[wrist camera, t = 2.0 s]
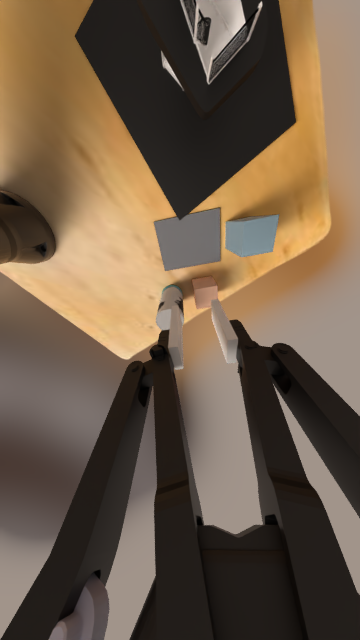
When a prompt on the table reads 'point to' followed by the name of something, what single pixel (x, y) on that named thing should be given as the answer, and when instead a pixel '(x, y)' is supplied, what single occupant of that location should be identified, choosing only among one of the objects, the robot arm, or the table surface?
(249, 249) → the slate-blue block
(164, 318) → the white patterned canister
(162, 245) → the charcoal mat
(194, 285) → the terracotta block
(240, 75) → the black-topped pedestal
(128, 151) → the table surface
